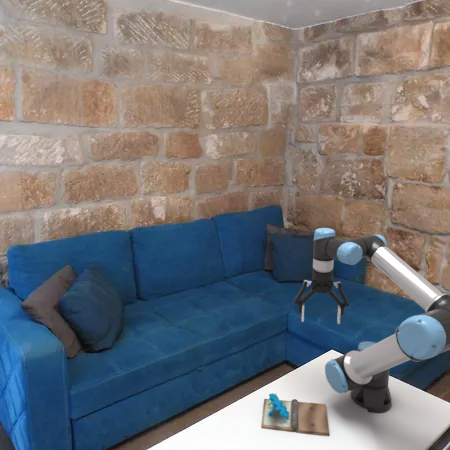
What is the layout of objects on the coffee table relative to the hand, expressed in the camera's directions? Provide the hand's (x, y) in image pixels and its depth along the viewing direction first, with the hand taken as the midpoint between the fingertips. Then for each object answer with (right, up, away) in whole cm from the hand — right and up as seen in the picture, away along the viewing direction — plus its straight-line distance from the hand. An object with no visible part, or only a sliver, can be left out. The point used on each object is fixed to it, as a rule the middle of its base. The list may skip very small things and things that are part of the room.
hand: (320, 321), depth 168 cm
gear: (-15, -32, -11) cm, 37 cm away
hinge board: (-12, -32, -11) cm, 36 cm away
